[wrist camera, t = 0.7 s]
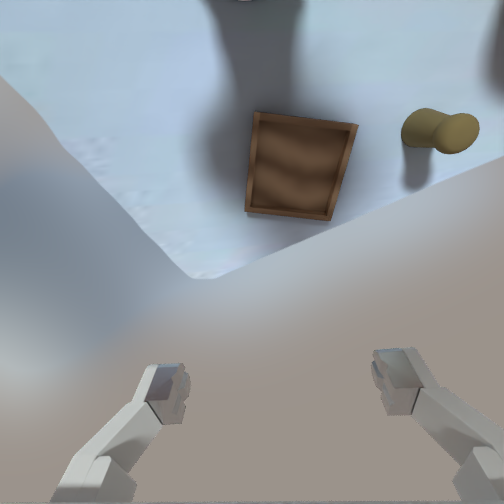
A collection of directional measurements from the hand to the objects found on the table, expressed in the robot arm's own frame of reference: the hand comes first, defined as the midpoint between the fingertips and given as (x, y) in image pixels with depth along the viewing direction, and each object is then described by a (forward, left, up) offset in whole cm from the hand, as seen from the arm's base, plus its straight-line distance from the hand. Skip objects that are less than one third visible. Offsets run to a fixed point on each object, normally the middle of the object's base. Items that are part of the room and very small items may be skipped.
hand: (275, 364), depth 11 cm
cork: (-9, +26, -42) cm, 50 cm away
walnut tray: (0, +6, -42) cm, 42 cm away
